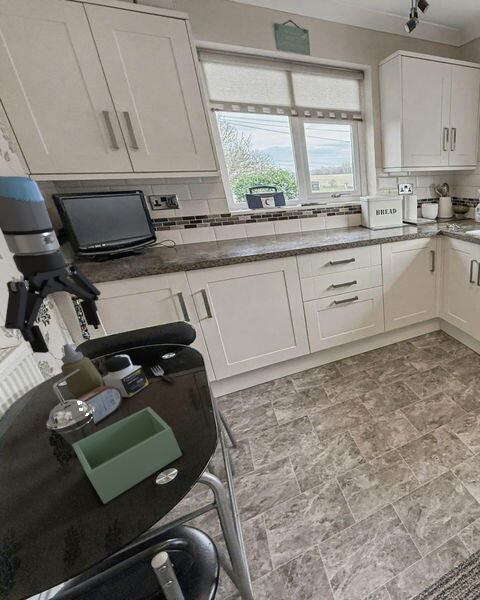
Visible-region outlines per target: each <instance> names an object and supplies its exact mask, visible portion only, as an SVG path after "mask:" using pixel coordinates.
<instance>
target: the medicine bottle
mask: <svg viewBox="0 0 480 600" xmlns="http://www.w3.org/2000/svg"><path fill="white" fill-rule="evenodd" d="M103 365H104V367H105V369H106V371H107V374H106V375H104V376H103V377H102V379H103V384H104V386H105V385H107V386H112V387H116V388H118V389H120V391H121V393H122V398H130V397H132V396H133V395H135V394H137V393H138V392H140V391H141V390H142V389H144V388H145V387H147V386H148V385H149V381H148V379H147V376H146V374H145V372H144V370H143V367H142V365H133V362H132V360H131V358H130V356H129V355H127V354H117V355H115V356H112V357H110V358H108V359H107V360H106V361H104V363H103Z"/></svg>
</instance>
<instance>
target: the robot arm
mask: <svg viewBox="0 0 480 600" xmlns="http://www.w3.org/2000/svg"><path fill="white" fill-rule="evenodd" d="M42 195H43V194H42V192H41V191H40V188H39V186H38V184H37V182H36V181H35V180H34V179H33V178H30V177H28V176H19V175H18V176H14V175H12V176H10V175H9V176H7V175H5V176H4V175H0V231H1V233H2V235H3V238H4V240H5V244H6V245H7V248H8V251H9V253H11V254H13V256H12V259H13V262H14V264H15V267H16V269H17V271H18V272H19V273H20V274H22V276H23V278H22V280H18V281H7V282H6V287H7V291H8V297H7V304H6V306H7V307H6V314H5V320H4V329H6V330H7V329H8V330H19V331H20V334H21V336H22V339H23V340H24V341H25V342H28V343H29V346H30V348H31V351H32V352H33V353H35V354H47V353H48V352H50V350H49V346H48V345H47V343H46V340H45V338H44V335H43V333H42V330H41V328H40V326H39V325H38V324H37V325H36V324H35V322H36V320H37V318H38V314H39V312H40V309H41V307H42V305H43V302H44V300H46V299H47V297H48V295H52V294H54V293H55V292H57V291H58V292H59V291H61V290H64V291H65V292H68V293H69V294H71V295H73V296H75V297H77V298H79V299H80V300H81V301H80V302H79V305H80V307H81V310H82V313H83V315H84V318H85V321H86V324H87V326H100V325H101V321H100V318H99V315H98V307H97V304H96V301H99V296H101V291H100V290H99V289H98V288H97V287H96V286H95V285H94V284H93V283H92V282H91V280H89V278H88V277H86V276H85V274H83V272H82V269H81V268H80V266H79V265H77V264H67V262H66V259H65V256H64V254H63V251H62V250H60V247H61V246H60V244H59V241H58V240H59V239H58V238H57V235H56V232H55V229H54V227H53V225H52V221H51V219H50V215H49V212H48V209H47V205H46V203H45V198H44V197H43V196H42ZM68 277H69V278H70V279H71V280H70V279H68Z"/></svg>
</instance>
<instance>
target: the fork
mask: <svg viewBox="0 0 480 600" xmlns="http://www.w3.org/2000/svg"><path fill="white" fill-rule="evenodd" d="M150 369H151V371H152V372H153V374H154V376H155V377H160V376H161V377H162V379H163V380H165V381H166V382H168V383H170V384H174V382H173V381H172V380H171V378H170V377H169V376H167V375H165V371H164V370H163V369H162V367H160V366H158V367H157V366H155V367H154V366H152V367H150Z"/></svg>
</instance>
